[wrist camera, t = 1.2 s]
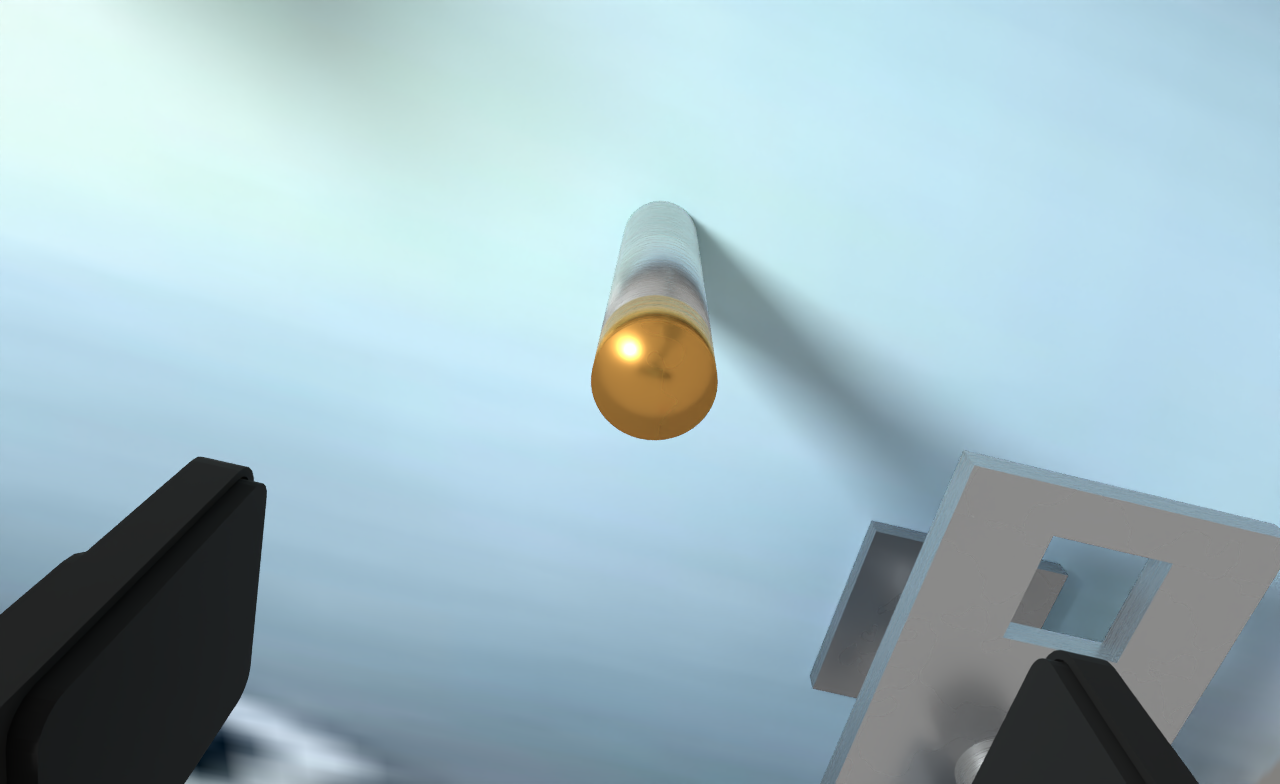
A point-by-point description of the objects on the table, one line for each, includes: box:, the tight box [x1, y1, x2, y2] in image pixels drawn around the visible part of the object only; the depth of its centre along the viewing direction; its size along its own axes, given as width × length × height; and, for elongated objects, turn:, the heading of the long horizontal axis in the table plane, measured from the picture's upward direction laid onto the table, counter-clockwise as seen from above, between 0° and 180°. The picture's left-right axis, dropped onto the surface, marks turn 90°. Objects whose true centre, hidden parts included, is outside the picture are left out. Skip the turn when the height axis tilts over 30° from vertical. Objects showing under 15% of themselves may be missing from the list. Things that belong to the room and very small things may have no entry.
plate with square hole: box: [810, 450, 1280, 784], centre depth 31 cm, size 20×10×11 cm, turn 166°
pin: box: [591, 201, 718, 440], centre depth 24 cm, size 3×3×14 cm
